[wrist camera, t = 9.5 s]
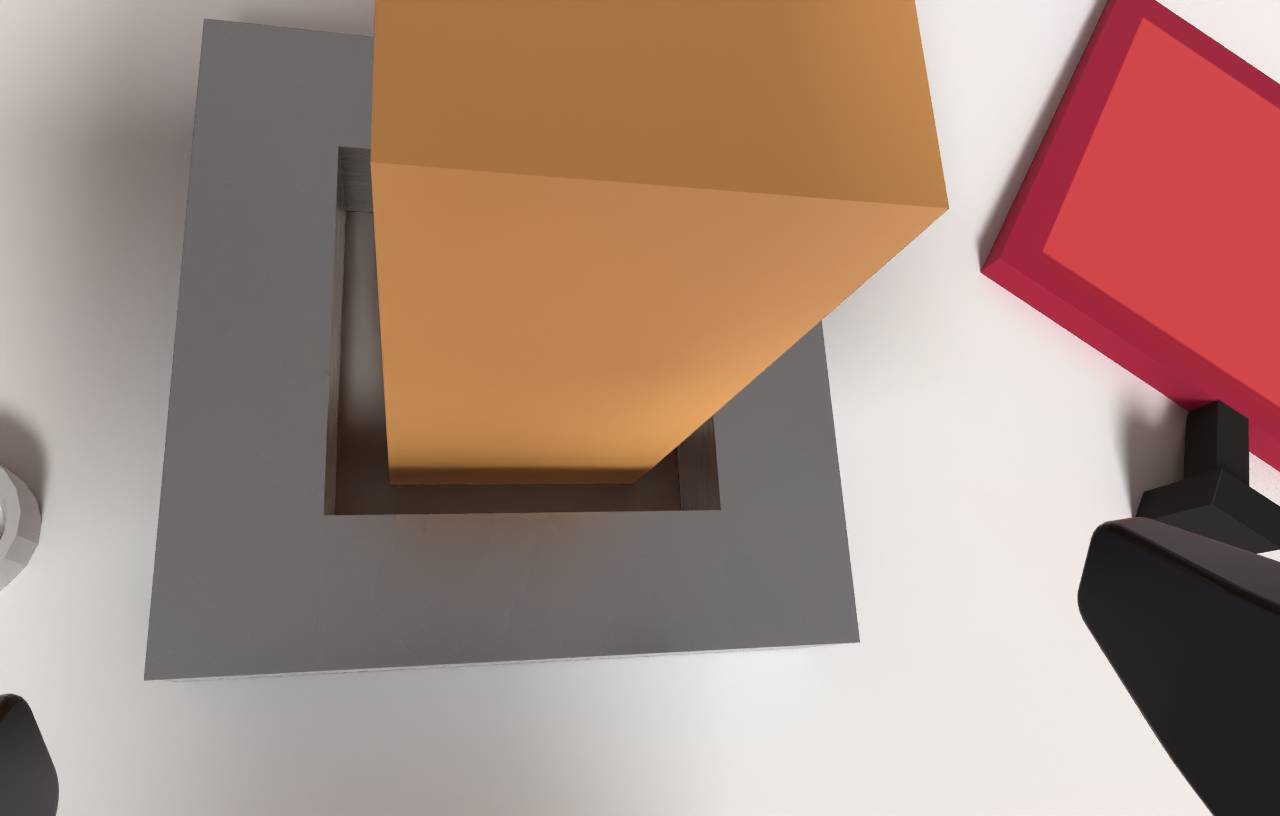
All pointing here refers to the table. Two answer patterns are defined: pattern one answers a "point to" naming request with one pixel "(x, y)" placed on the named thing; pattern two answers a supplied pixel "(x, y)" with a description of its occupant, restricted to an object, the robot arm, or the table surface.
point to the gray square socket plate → (427, 543)
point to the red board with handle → (1167, 248)
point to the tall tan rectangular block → (624, 214)
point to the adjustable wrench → (17, 525)
